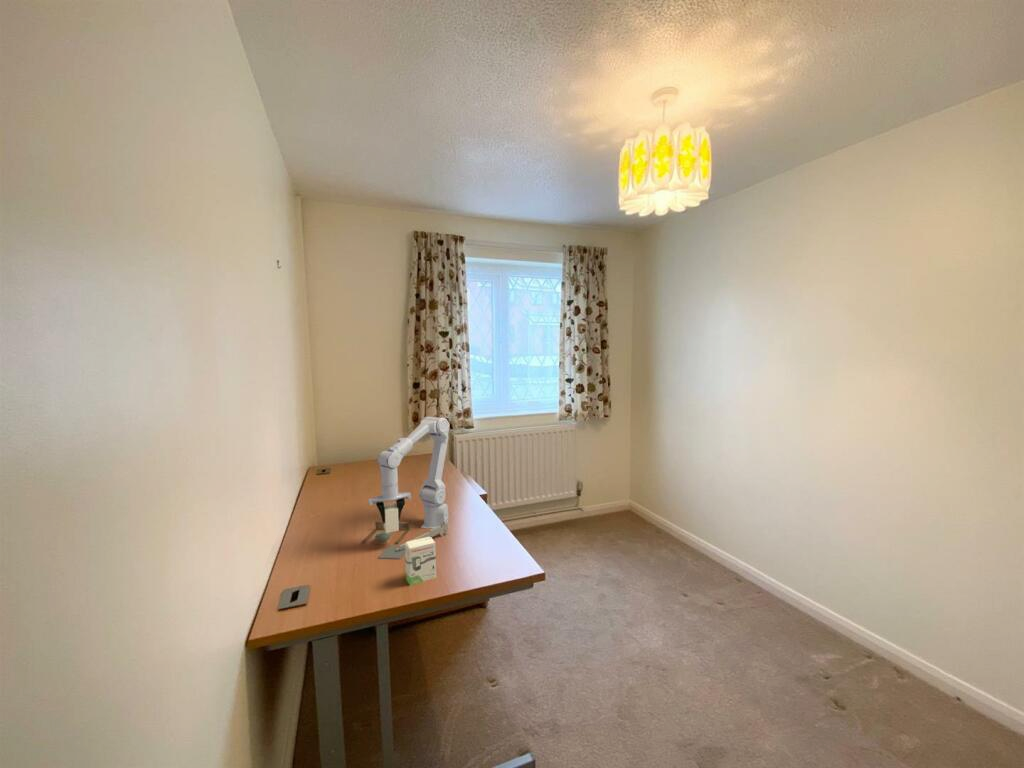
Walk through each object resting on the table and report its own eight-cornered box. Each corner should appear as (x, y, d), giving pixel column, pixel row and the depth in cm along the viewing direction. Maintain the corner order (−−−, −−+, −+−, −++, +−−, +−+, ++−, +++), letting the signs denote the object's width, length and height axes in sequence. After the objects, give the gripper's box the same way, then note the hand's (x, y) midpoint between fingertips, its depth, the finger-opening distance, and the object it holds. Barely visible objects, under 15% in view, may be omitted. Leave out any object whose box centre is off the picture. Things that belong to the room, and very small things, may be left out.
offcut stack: (390, 541, 153) (390, 532, 152) (386, 545, 149) (386, 536, 149) (379, 541, 153) (378, 531, 153) (375, 545, 150) (374, 536, 149)
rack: (409, 532, 160) (409, 522, 160) (397, 546, 148) (397, 535, 148) (376, 531, 162) (376, 521, 162) (362, 544, 150) (361, 534, 150)
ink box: (409, 586, 122) (408, 548, 121) (405, 578, 126) (404, 542, 125) (436, 578, 126) (435, 541, 125) (432, 571, 130) (430, 535, 129)
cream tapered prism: (396, 524, 151) (395, 503, 151) (398, 530, 146) (398, 508, 145) (383, 526, 149) (382, 505, 149) (385, 532, 144) (385, 510, 143)
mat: (410, 548, 147) (409, 546, 146) (400, 560, 138) (400, 558, 138) (388, 547, 147) (388, 545, 147) (378, 559, 139) (377, 557, 138)
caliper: (446, 535, 156) (446, 519, 155) (447, 536, 155) (448, 521, 154) (395, 550, 143) (396, 533, 142) (396, 551, 142) (397, 534, 141)
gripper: (407, 478, 153) (409, 513, 154) (367, 484, 147) (368, 520, 147) (411, 483, 146) (412, 520, 147) (369, 489, 140) (371, 527, 141)
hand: (391, 520), depth 147 cm, fingers closed on cream tapered prism, 4 cm apart
